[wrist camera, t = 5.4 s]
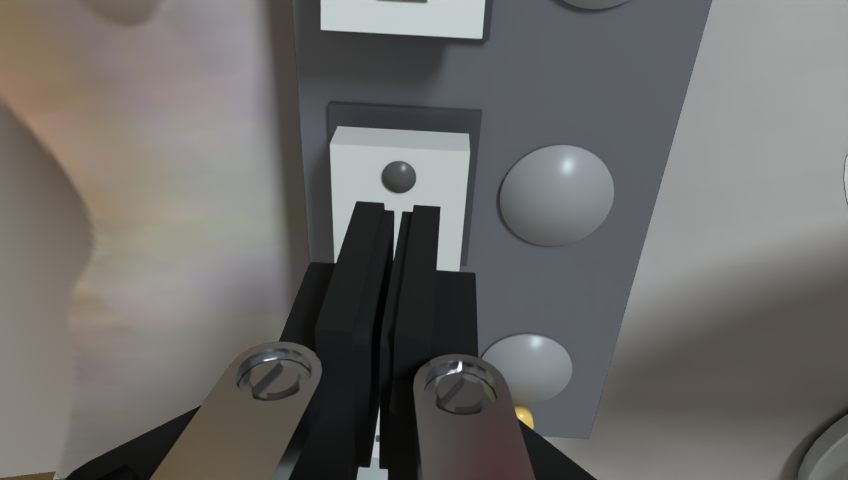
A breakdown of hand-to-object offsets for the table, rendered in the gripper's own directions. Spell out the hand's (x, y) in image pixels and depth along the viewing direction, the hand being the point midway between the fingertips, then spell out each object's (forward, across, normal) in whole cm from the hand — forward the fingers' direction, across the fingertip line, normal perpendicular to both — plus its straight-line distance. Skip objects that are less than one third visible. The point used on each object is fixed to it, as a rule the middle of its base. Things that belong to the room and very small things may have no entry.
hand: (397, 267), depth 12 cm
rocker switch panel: (+12, -2, +5) cm, 13 cm away
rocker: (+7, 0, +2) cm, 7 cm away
